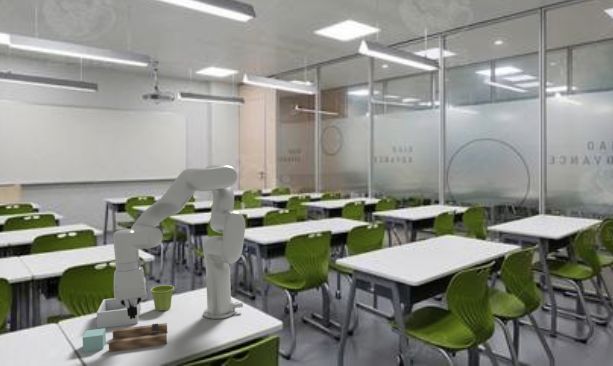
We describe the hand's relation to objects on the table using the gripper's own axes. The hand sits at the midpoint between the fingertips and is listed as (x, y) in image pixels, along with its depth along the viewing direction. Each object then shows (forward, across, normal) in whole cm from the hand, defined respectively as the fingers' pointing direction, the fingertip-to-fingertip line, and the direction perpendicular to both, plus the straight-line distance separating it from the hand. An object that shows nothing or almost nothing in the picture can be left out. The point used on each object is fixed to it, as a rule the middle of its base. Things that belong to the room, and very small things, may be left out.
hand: (133, 317), depth 146 cm
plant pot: (+10, -8, -30) cm, 33 cm away
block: (+8, +13, +1) cm, 15 cm away
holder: (+9, +8, -24) cm, 27 cm away
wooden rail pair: (+8, -2, +1) cm, 9 cm away
